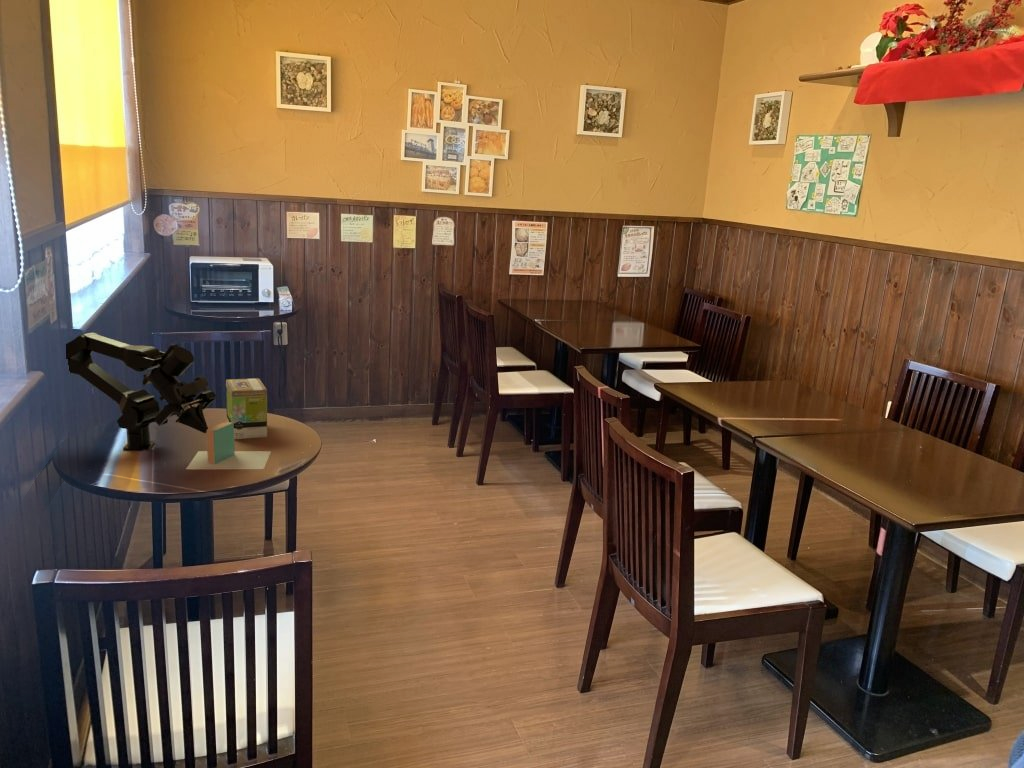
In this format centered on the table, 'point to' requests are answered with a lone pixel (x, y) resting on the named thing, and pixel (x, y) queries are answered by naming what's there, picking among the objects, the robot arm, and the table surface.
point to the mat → (232, 461)
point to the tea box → (247, 407)
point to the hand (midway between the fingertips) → (206, 432)
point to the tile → (220, 442)
